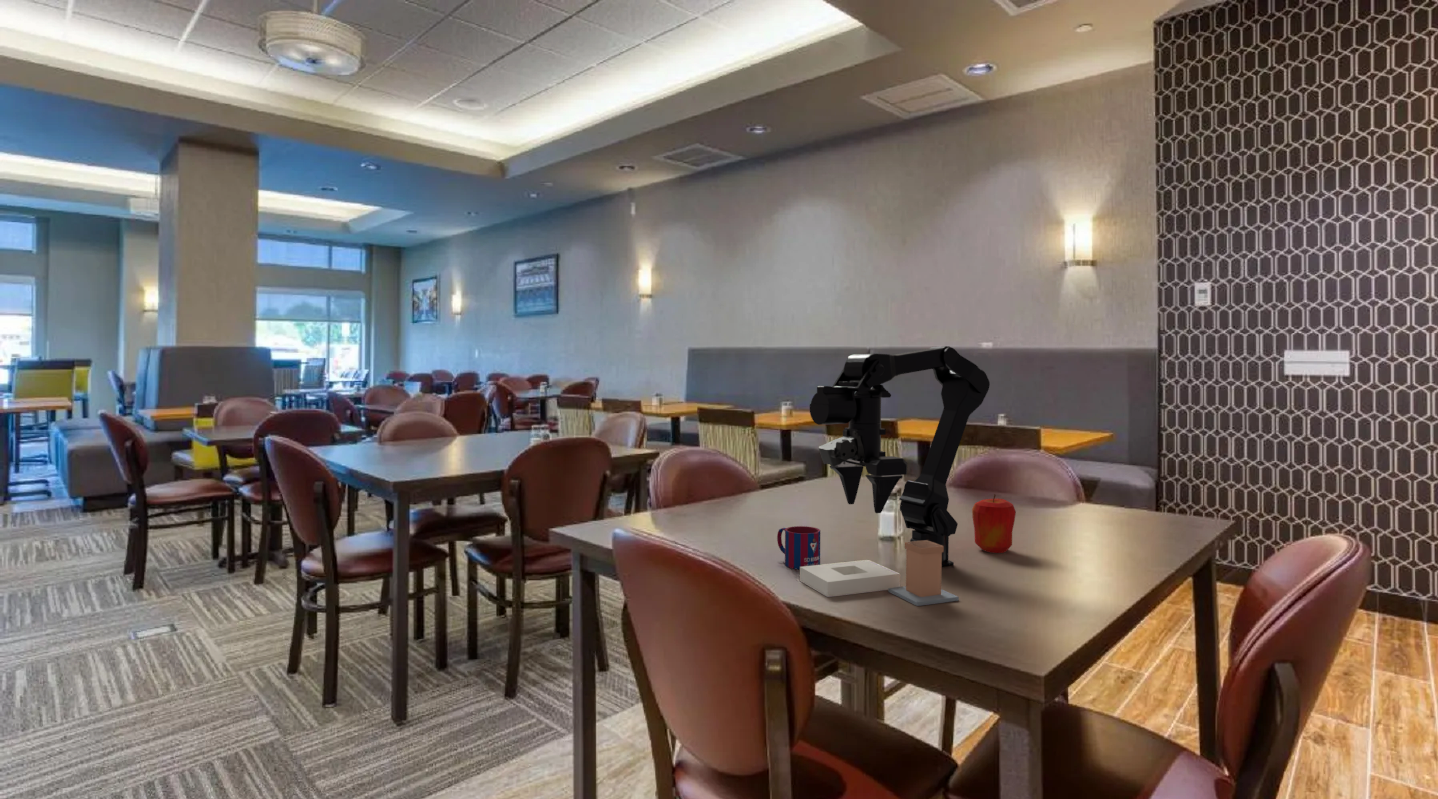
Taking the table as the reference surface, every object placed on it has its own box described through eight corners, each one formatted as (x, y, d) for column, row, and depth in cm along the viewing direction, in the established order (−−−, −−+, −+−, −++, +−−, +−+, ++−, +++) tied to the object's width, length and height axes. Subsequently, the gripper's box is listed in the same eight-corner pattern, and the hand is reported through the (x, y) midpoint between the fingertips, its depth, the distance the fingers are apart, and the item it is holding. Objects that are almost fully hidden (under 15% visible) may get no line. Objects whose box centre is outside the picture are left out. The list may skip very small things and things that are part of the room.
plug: (926, 587, 125) (926, 540, 125) (942, 594, 121) (943, 546, 120) (904, 589, 123) (904, 542, 123) (920, 597, 119) (920, 548, 119)
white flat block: (868, 573, 136) (868, 559, 136) (900, 588, 126) (900, 573, 126) (799, 580, 131) (799, 566, 131) (827, 597, 121) (827, 582, 121)
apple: (988, 543, 158) (988, 489, 158) (1024, 551, 152) (1024, 494, 151) (963, 549, 154) (963, 493, 153) (999, 558, 147) (999, 498, 146)
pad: (928, 586, 127) (928, 583, 127) (958, 600, 120) (958, 596, 120) (888, 591, 124) (888, 588, 124) (917, 606, 117) (917, 602, 117)
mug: (799, 571, 137) (799, 535, 136) (767, 559, 145) (767, 525, 145) (827, 566, 140) (827, 531, 140) (794, 555, 149) (795, 521, 148)
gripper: (801, 420, 140) (801, 502, 141) (852, 428, 123) (852, 521, 123) (852, 419, 144) (852, 499, 145) (909, 426, 126) (908, 516, 127)
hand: (864, 508), depth 135 cm, fingers open, 9 cm apart
